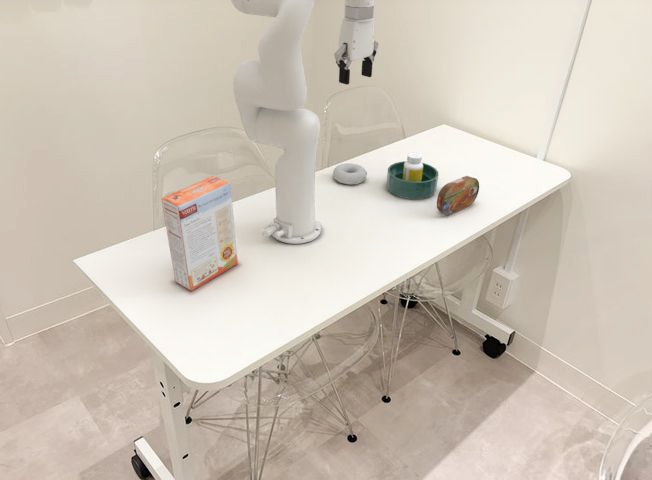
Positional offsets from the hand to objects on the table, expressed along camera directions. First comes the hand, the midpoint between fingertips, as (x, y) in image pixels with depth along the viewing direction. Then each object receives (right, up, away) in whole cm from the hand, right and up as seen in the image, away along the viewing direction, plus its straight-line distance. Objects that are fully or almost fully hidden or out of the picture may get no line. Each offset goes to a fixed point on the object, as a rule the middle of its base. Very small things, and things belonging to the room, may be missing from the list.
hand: (355, 79), depth 160 cm
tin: (+27, -36, -1) cm, 45 cm away
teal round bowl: (+16, -29, +8) cm, 34 cm away
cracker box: (-35, -53, -29) cm, 70 cm away
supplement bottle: (+16, -29, +8) cm, 34 cm away
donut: (-1, -25, +13) cm, 28 cm away
